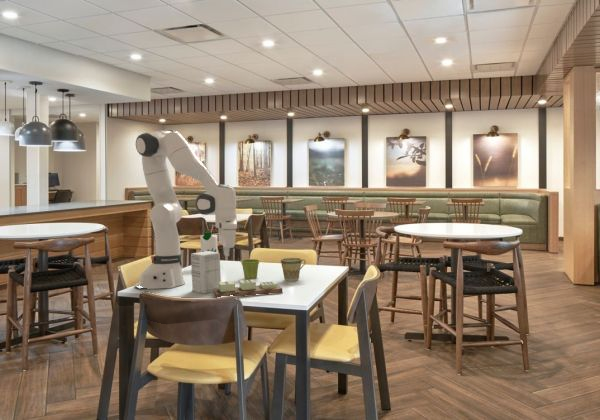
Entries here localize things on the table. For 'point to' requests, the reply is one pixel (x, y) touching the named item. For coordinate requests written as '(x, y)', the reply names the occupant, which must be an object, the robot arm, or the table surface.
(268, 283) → the tile three
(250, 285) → the tile two
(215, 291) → the frame
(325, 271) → the table surface
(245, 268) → the plant pot
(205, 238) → the milk carton
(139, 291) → the table surface
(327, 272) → the table surface
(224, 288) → the tile one
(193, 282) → the supplement box
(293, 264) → the ceramic cup
